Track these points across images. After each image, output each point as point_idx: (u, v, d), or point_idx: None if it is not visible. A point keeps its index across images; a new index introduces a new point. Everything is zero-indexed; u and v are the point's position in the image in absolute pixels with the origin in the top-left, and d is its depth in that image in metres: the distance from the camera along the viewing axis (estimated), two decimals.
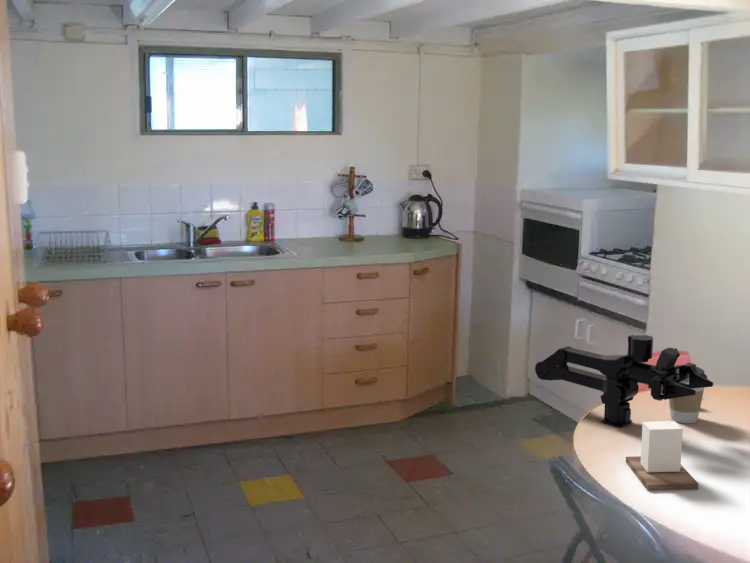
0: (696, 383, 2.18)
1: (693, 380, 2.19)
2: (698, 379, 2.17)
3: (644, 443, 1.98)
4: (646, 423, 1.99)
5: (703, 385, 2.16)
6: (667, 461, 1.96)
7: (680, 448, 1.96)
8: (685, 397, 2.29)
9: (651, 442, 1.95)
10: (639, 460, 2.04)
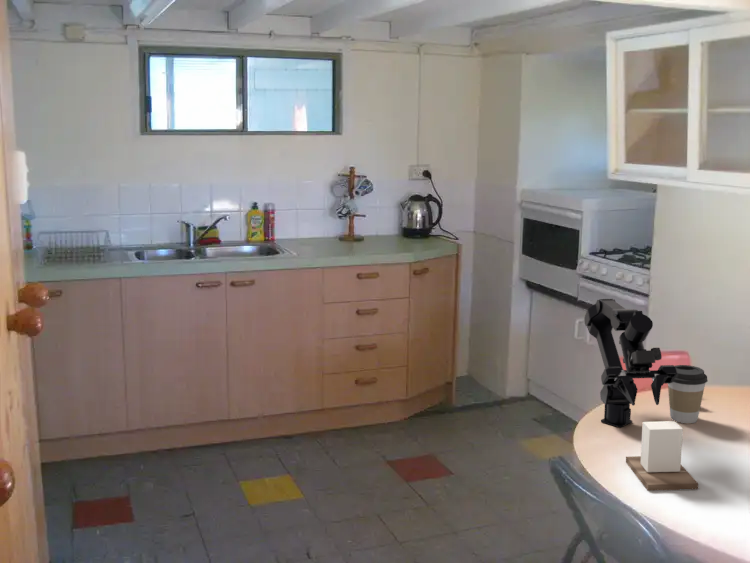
0: (653, 389, 2.12)
1: (654, 385, 2.12)
2: (655, 389, 2.11)
3: (644, 443, 1.98)
4: (646, 423, 1.99)
5: (654, 396, 2.11)
6: (667, 461, 1.96)
7: (680, 448, 1.96)
8: (685, 397, 2.29)
9: (651, 442, 1.95)
10: (639, 460, 2.04)
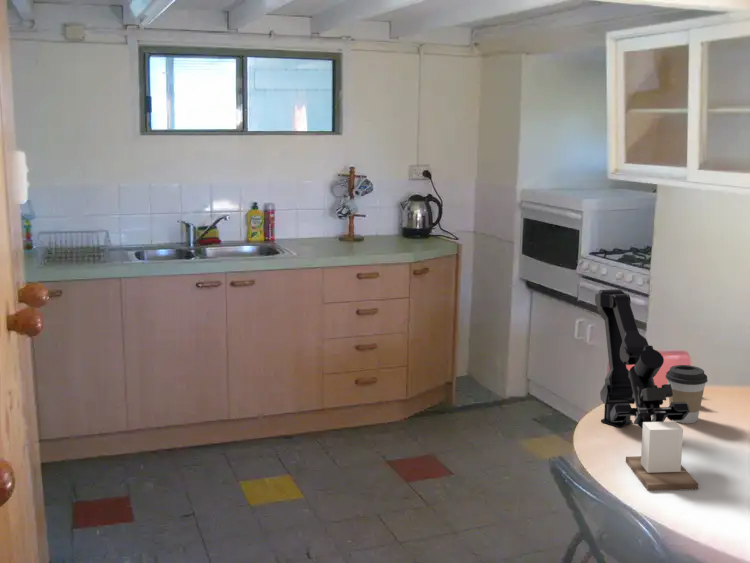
0: None
1: None
2: None
3: (644, 443, 1.98)
4: (646, 423, 1.98)
5: None
6: (668, 461, 1.96)
7: (680, 448, 1.96)
8: (685, 397, 2.29)
9: (651, 442, 1.95)
10: (639, 460, 2.04)
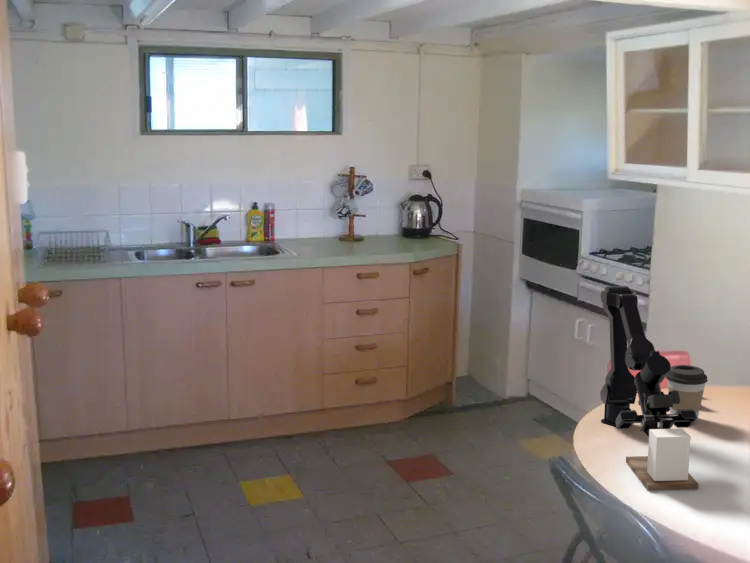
0: None
1: None
2: None
3: (651, 451, 1.94)
4: (653, 430, 1.94)
5: None
6: (675, 469, 1.92)
7: (688, 456, 1.91)
8: (685, 397, 2.29)
9: (658, 450, 1.91)
10: (639, 460, 2.04)
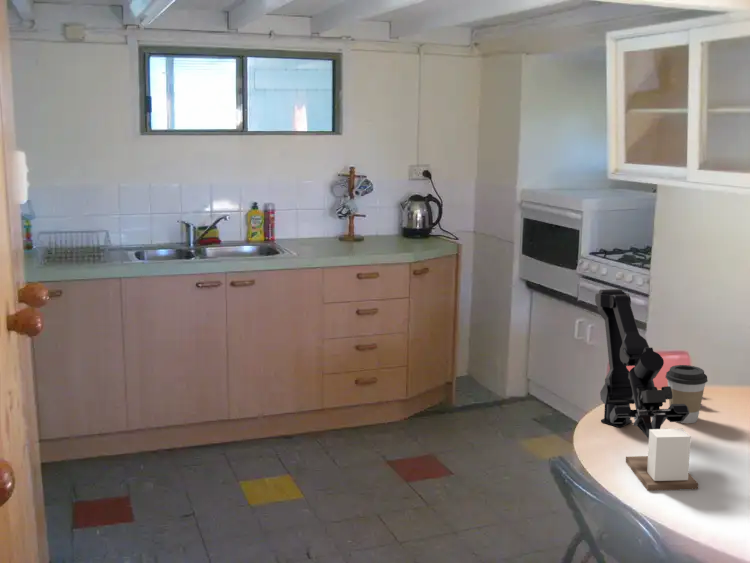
0: None
1: (653, 424, 2.05)
2: None
3: (651, 451, 1.94)
4: (653, 430, 1.94)
5: None
6: (675, 469, 1.92)
7: (688, 456, 1.91)
8: (685, 397, 2.29)
9: (658, 450, 1.91)
10: (639, 460, 2.04)
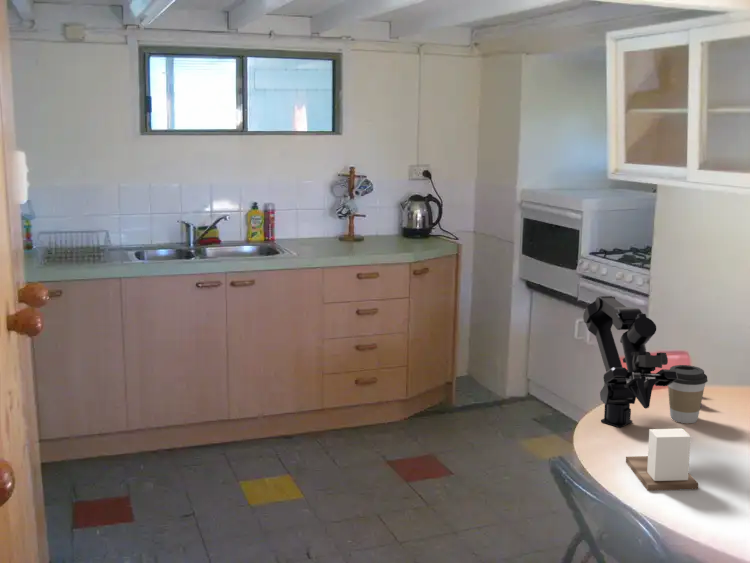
0: None
1: (643, 387, 2.13)
2: (645, 392, 2.12)
3: (651, 451, 1.94)
4: (653, 430, 1.94)
5: None
6: (675, 469, 1.92)
7: (688, 456, 1.91)
8: (685, 397, 2.29)
9: (658, 450, 1.91)
10: (639, 460, 2.04)
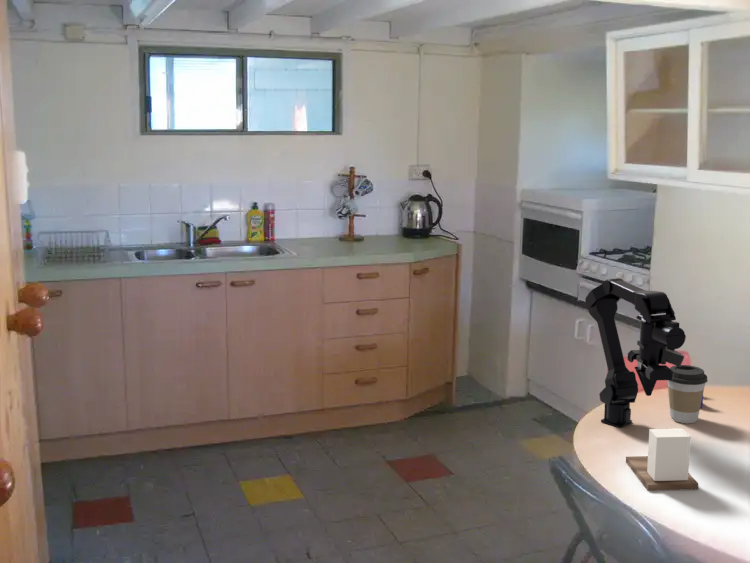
0: None
1: None
2: None
3: (651, 451, 1.94)
4: (653, 430, 1.94)
5: None
6: (675, 469, 1.92)
7: (688, 456, 1.91)
8: (685, 397, 2.29)
9: (658, 450, 1.91)
10: (639, 460, 2.04)
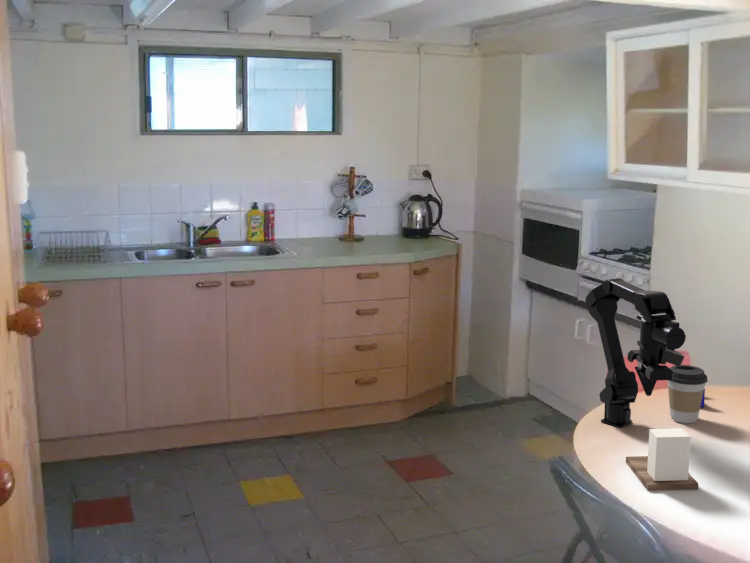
0: None
1: None
2: None
3: (651, 451, 1.94)
4: (653, 430, 1.94)
5: None
6: (675, 469, 1.92)
7: (688, 456, 1.91)
8: (685, 397, 2.29)
9: (658, 450, 1.91)
10: (639, 460, 2.04)
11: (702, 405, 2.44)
